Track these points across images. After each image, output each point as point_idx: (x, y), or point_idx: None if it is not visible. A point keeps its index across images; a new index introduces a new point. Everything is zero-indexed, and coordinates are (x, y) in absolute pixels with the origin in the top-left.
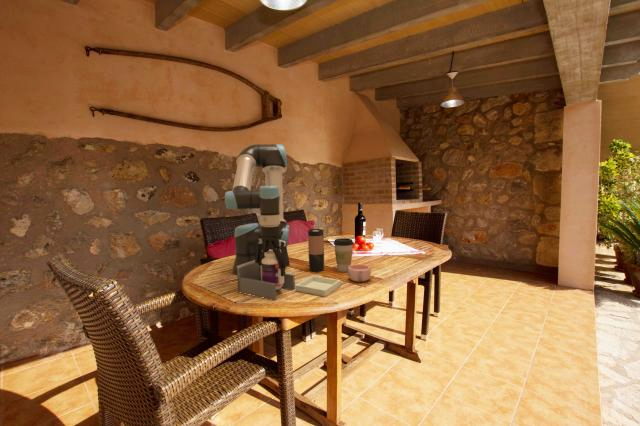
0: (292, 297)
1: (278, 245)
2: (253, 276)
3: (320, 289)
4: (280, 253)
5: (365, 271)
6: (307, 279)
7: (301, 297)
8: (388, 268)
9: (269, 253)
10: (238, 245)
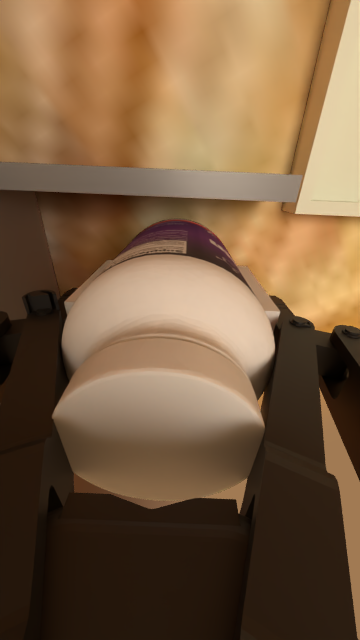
0: (294, 284)
1: (339, 614)
2: (13, 261)
3: None
4: (314, 433)
5: None
6: (356, 27)
7: (335, 269)
8: None
9: (179, 490)
10: None
